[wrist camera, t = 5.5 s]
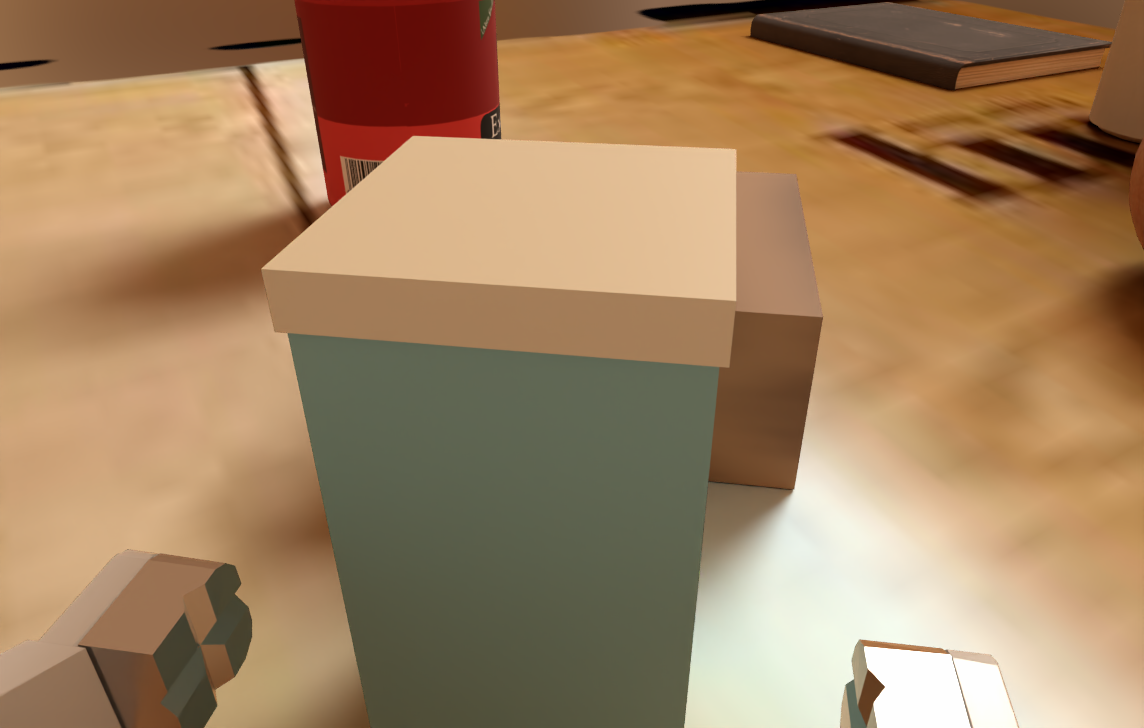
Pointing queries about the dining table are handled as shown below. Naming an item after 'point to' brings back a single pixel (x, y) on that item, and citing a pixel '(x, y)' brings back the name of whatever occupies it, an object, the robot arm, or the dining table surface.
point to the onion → (1138, 193)
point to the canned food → (396, 78)
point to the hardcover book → (929, 43)
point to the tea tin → (517, 421)
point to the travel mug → (1123, 79)
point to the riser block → (767, 338)
